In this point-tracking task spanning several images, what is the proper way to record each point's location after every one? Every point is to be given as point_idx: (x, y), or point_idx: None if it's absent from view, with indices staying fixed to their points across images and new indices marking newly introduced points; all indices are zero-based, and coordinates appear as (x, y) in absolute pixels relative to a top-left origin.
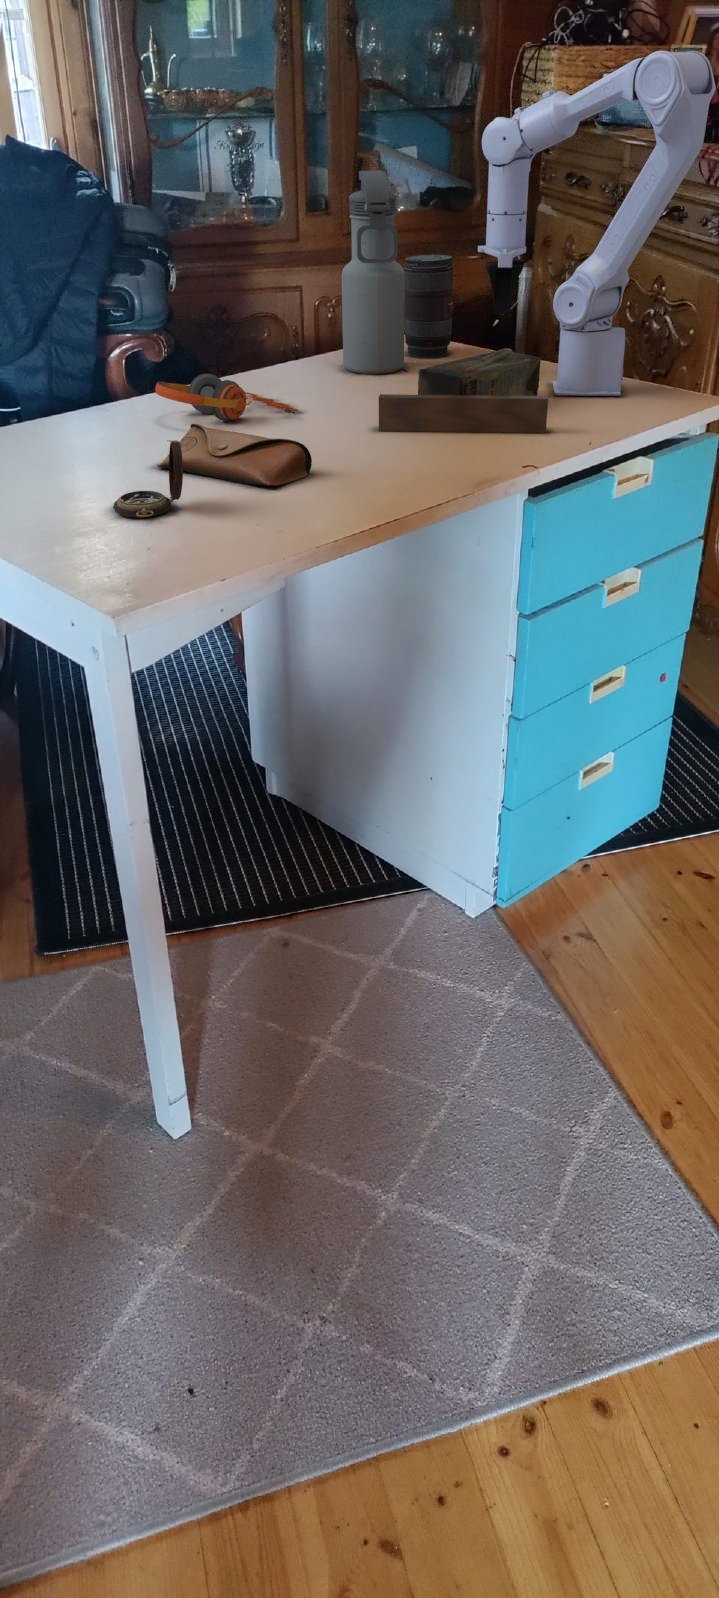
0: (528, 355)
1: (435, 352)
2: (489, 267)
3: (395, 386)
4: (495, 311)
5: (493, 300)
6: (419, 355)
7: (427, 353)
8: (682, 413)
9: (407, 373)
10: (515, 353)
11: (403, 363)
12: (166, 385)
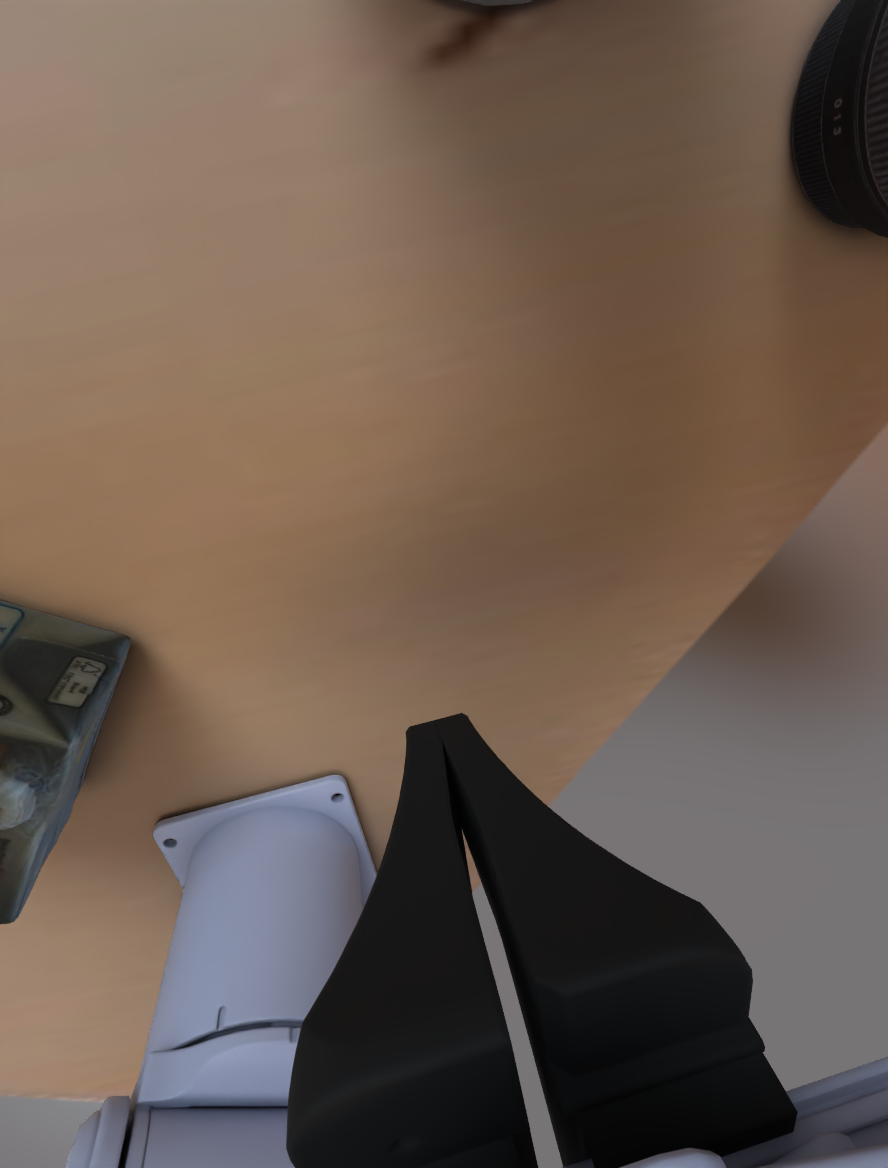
0: (3, 887)
1: (813, 170)
2: (292, 1094)
3: (15, 65)
4: (409, 737)
5: (403, 780)
6: (809, 63)
7: (806, 118)
8: (106, 1086)
9: (397, 75)
10: (11, 835)
11: (497, 3)
12: None
